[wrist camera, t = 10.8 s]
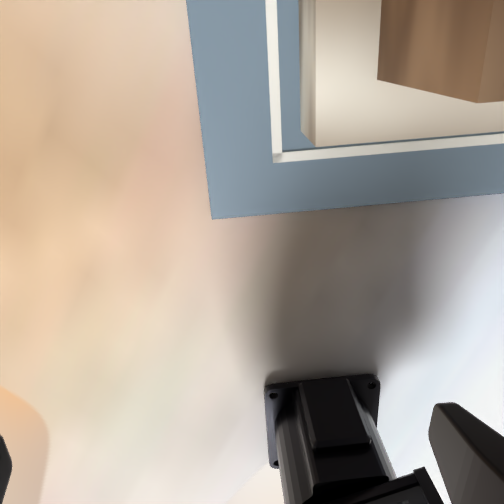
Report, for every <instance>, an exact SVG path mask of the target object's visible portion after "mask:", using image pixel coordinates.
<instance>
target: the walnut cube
mask: <svg viewBox="0 0 504 504" xmlns="http://www.w3.org/2000/svg"><path fill="white" fill-rule="evenodd" d="M377 80H380V81H384V82H389V83H393V84H397V85H401V86H406V87H410V88H414V89H418V90H423V91H427V92H431V93H435V94H440V95H444V96H448V97H452V98H457V99H461V100H465V101H469V102H474V103H488V102H500V101H504V0H382V1H381V19H380V36H379V53H378V71H377Z"/></svg>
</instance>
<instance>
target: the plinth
mask: <svg viewBox="0 0 504 504" xmlns="http://www.w3.org/2000/svg"><path fill="white" fill-rule="evenodd" d="M381 1H382V0H298V4H299V64H300V124H301V132H302V133H303V134H304V135H305V136H306V137H307V138H308V139H309V140H310V141H311V143H312V144H313V145H314V146H315V147H323V146H335V145H347V144H359V143H371V142H382V141H394V140H406V139H418V138H430V137H441V136H453V135H465V134H477V133H489V132H500V131H504V101H500V102H488V103H474V102H469V101H465V100H461V99H457V98H452V97H448V96H444V95H440V94H435V93H431V92H427V91H423V90H418V89H414V88H410V87H406V86H401V85H397V84H393V83H389V82H384V81H380V80H377V71H378V53H379V36H380V19H381Z"/></svg>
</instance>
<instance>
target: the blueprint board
mask: <svg viewBox="0 0 504 504" xmlns="http://www.w3.org/2000/svg"><path fill="white" fill-rule="evenodd" d="M186 3H187V12H188V20H189V29H190V37H191V46H192V54H193V63H194V71H195V80H196V88H197V97H198V105H199V114H200V123H201V131H202V140H203V148H204V157H205V165H206V174H207V182H208V191H209V199H210V208H211V216H212V219H223V218H234V217H245V216H257V215H268V214H279V213H290V212H301V211H312V210H323V209H334V208H345V207H357V206H368V205H379V204H390V203H401V202H412V201H423V200H434V199H446V198H457V197H468V196H479V195H490V194H501V193H504V131H500V132H489V133H477V134H465V135H453V136H441V137H430V138H418V139H406V140H394V141H382V142H371V143H359V144H347V145H335V146H323V147H315V146H314V145H313V144H312V143H311V141H310V140H309V139H308V138H307V137H306V136H305V135H304V134H303V133H302V132H301V124H300V64H299V4H298V0H186Z"/></svg>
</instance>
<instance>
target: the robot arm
mask: <svg viewBox="0 0 504 504" xmlns="http://www.w3.org/2000/svg"><path fill="white" fill-rule="evenodd" d="M371 382H372V383H371ZM369 383H371V384H369ZM271 393H275V394H271ZM379 395H380V381H379V379H378V377H377V376H376V375H374V374H364V375H354V376H345V377H335V378H325V379H316V380H306V381H297V382H287V383H277V384H271V385H268V386H266V388H265V389H264V399H265V413H266V426H267V440H268V454H269V464H270V466H271V467H272V468H275V469H276V468H277V469H280V476H281V482H282V488H283V496H284V503H285V504H444V503H443V501H442V499H441V497H440V495H439V493H438V492H437V490H436V488H435V486H434V484H433V482H432V480H431V478H430V476H429V474H428V473H427V471H426V469H425V467H421V468H418V469H415V470H413V472H414V473H411V474H408V475H405V476H402V477H399V478H397V477H396V474H395V472H394V470H393V467H392V465H391V462H390V460H389V457H388V455H387V453H386V450H385V448H384V445H383V443H382V440H381V438H380V436H379V433H378V431H377V418H378V406H379ZM429 441H430V444H431V447H432V450H433V452H434V455H435V458H436V461H437V464H438V467H439V469H440V472H441V475H442V478H443V481H444V483H445V486H446V489H447V492H448V495H449V498H450V500H451V503H452V504H504V437H503V436H502V435H500V434H499V433H498V432H496V431H495V430H493V429H492V428H491V427H489V426H488V425H486V424H485V423H484V422H482V421H481V420H479V419H478V418H477V417H475V416H474V415H472V414H471V413H470V412H468V411H467V410H465V409H464V408H463V407H461V406H460V405H458V404H456V403H453V402H449V403H438V404H436V405H435V406H434V408H433V412H432V417H431V422H430V426H429ZM11 471H12V461H11V457H10V455H9V452H8V449H7V447H6V444H5V442H4V439H3V437H2V436H1V435H0V504H2V502H3V498H4V495H5V492H6V489H7V485H8V482H9V478H10V475H11Z"/></svg>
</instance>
